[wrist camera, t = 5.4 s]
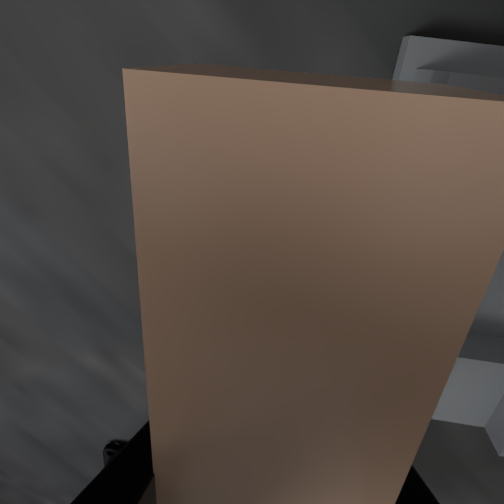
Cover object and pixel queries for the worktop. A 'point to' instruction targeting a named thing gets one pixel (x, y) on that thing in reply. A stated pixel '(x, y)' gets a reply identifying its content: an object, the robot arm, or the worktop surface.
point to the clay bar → (304, 272)
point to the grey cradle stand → (500, 287)
